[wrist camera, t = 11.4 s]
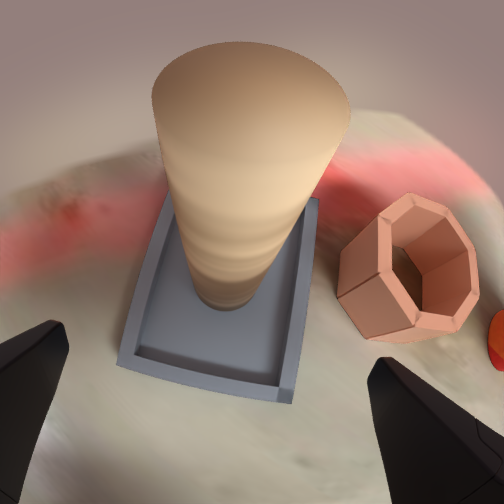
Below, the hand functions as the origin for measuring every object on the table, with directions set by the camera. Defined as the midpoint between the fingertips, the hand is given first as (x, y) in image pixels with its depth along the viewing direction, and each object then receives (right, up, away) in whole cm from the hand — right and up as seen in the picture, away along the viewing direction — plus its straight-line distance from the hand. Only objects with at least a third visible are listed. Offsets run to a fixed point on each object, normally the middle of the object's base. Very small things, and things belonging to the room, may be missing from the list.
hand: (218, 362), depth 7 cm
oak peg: (-1, +1, +9) cm, 9 cm away
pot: (+10, +1, +11) cm, 15 cm away
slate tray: (-1, +1, +9) cm, 10 cm away
